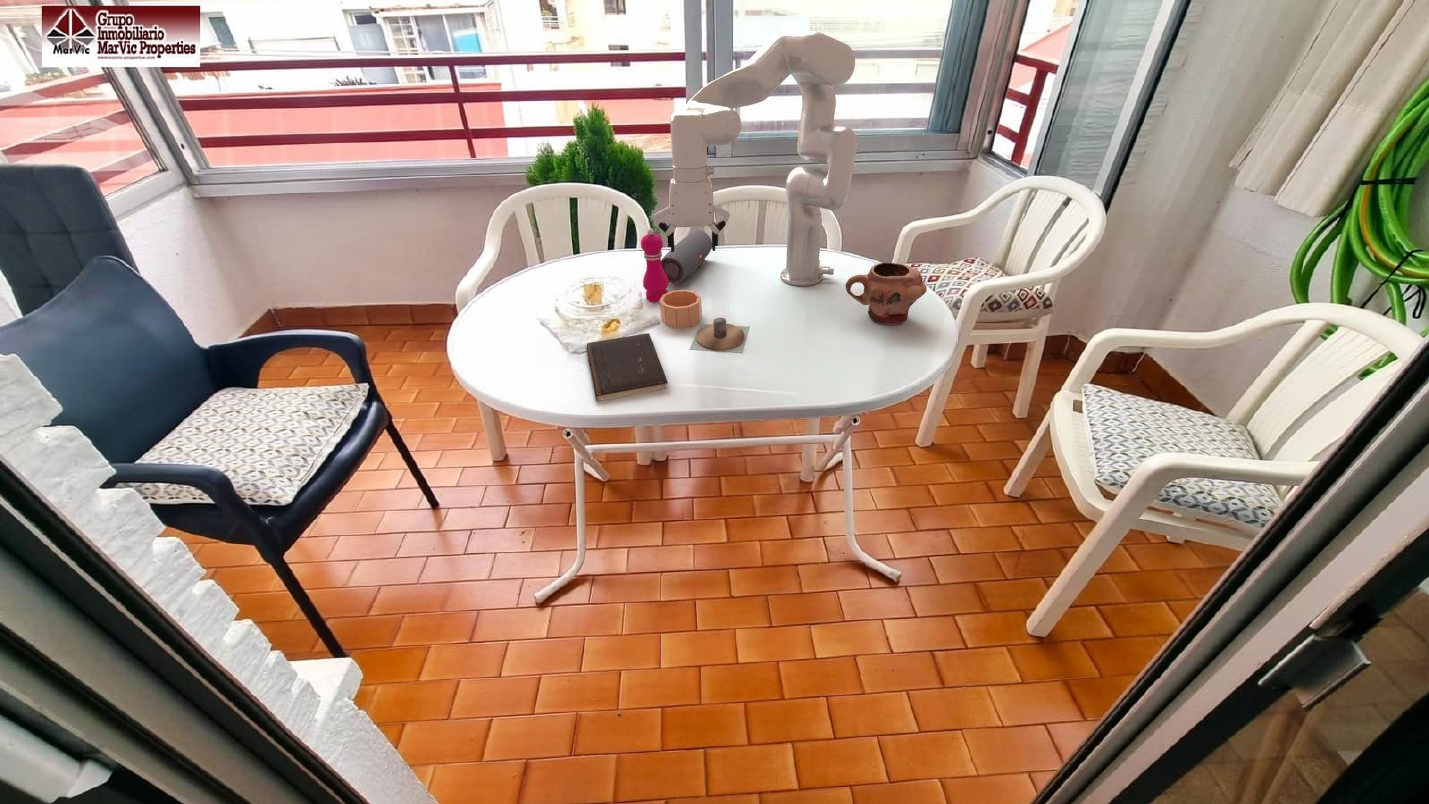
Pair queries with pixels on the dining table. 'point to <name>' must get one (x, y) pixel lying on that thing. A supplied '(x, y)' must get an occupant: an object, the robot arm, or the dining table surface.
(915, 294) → the terracotta clay mug
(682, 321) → the bowl
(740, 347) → the mat
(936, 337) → the dining table surface
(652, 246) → the pepper mill
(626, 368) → the hardcover book
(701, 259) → the bluetooth speaker
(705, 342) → the lid
